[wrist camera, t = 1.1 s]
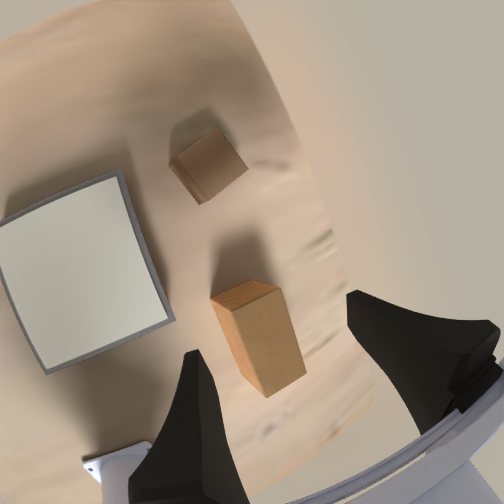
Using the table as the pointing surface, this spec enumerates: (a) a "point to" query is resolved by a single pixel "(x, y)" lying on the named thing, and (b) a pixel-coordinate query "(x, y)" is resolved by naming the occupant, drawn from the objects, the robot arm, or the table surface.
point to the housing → (260, 335)
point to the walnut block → (208, 166)
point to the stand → (81, 273)
